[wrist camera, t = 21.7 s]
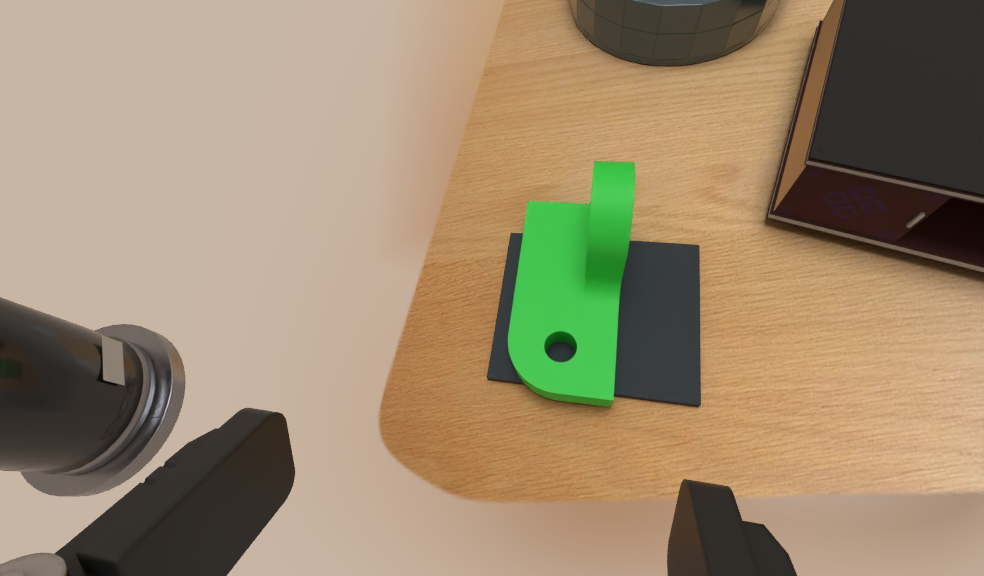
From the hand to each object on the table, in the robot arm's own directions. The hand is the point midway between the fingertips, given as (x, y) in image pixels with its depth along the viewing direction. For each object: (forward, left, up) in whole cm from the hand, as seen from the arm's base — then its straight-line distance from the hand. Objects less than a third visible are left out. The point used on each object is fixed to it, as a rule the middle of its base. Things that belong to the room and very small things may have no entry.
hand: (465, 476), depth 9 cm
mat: (+3, +11, -18) cm, 21 cm away
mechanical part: (+1, +11, -18) cm, 21 cm away
